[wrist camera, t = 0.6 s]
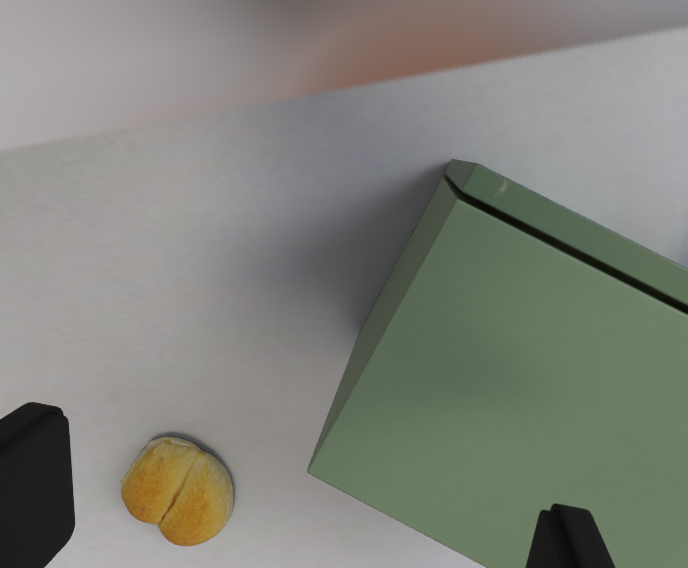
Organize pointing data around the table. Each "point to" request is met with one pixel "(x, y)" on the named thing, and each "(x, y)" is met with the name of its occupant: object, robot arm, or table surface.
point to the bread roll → (179, 491)
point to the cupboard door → (570, 228)
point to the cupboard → (514, 394)
